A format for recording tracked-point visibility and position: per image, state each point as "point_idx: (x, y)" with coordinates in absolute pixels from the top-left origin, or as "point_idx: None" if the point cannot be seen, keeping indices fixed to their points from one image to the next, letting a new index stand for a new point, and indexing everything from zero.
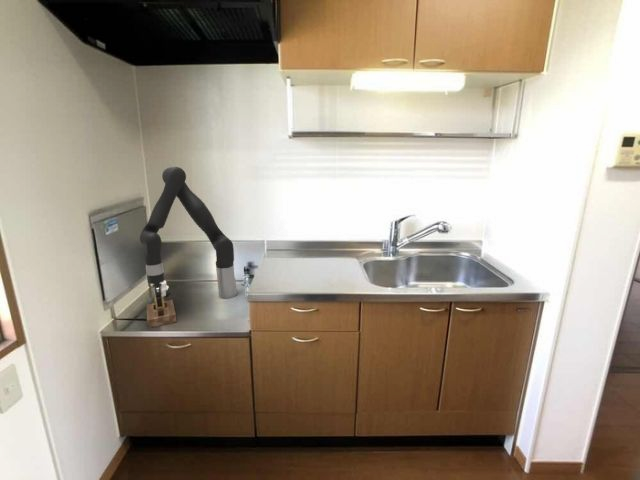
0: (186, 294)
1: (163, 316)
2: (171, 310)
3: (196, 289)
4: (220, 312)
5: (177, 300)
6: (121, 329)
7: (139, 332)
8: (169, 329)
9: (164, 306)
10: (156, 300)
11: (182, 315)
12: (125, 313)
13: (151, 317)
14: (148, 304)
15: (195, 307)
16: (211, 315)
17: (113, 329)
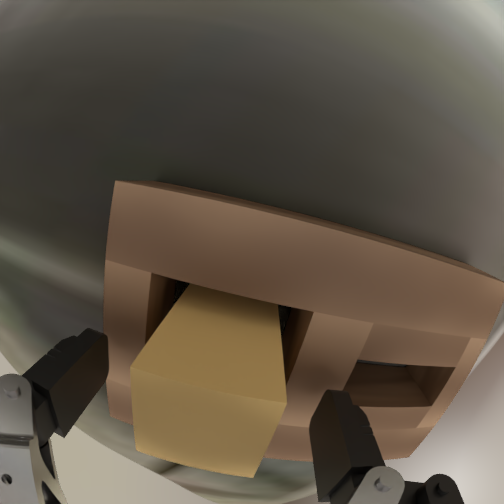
0: (30, 56)
1: (462, 374)
2: (431, 294)
3: (27, 7)
4: (476, 5)
5: (61, 121)
6: (286, 489)
7: None
8: (493, 325)
9: (279, 335)
10: (243, 465)
11: (406, 178)
12: (104, 439)
13: (399, 441)
14: (114, 408)
15: (318, 27)
16: (494, 51)
17: (259, 500)
